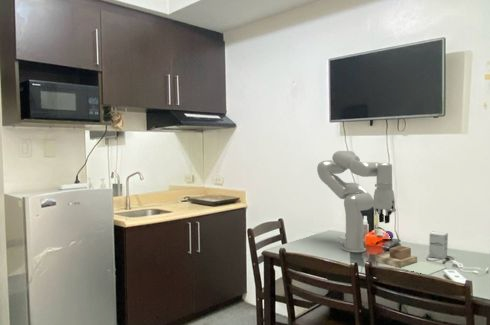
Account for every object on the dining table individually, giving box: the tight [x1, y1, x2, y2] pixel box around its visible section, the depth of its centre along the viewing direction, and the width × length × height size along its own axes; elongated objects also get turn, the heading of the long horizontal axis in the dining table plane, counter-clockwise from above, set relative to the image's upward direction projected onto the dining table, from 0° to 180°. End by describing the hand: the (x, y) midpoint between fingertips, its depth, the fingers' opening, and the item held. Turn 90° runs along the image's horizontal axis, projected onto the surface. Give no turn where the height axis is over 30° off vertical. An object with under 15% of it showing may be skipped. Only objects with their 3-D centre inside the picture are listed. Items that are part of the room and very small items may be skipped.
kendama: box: [384, 230, 394, 240], centre depth 238 cm, size 6×6×20 cm
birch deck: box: [375, 251, 418, 269], centre depth 194 cm, size 14×14×3 cm
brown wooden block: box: [389, 245, 412, 260], centre depth 193 cm, size 6×9×4 cm, turn 127°
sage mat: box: [399, 261, 447, 276], centre depth 183 cm, size 13×18×1 cm
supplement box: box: [428, 231, 449, 260], centre depth 203 cm, size 7×7×13 cm
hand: (384, 222), depth 200 cm, fingers closed
